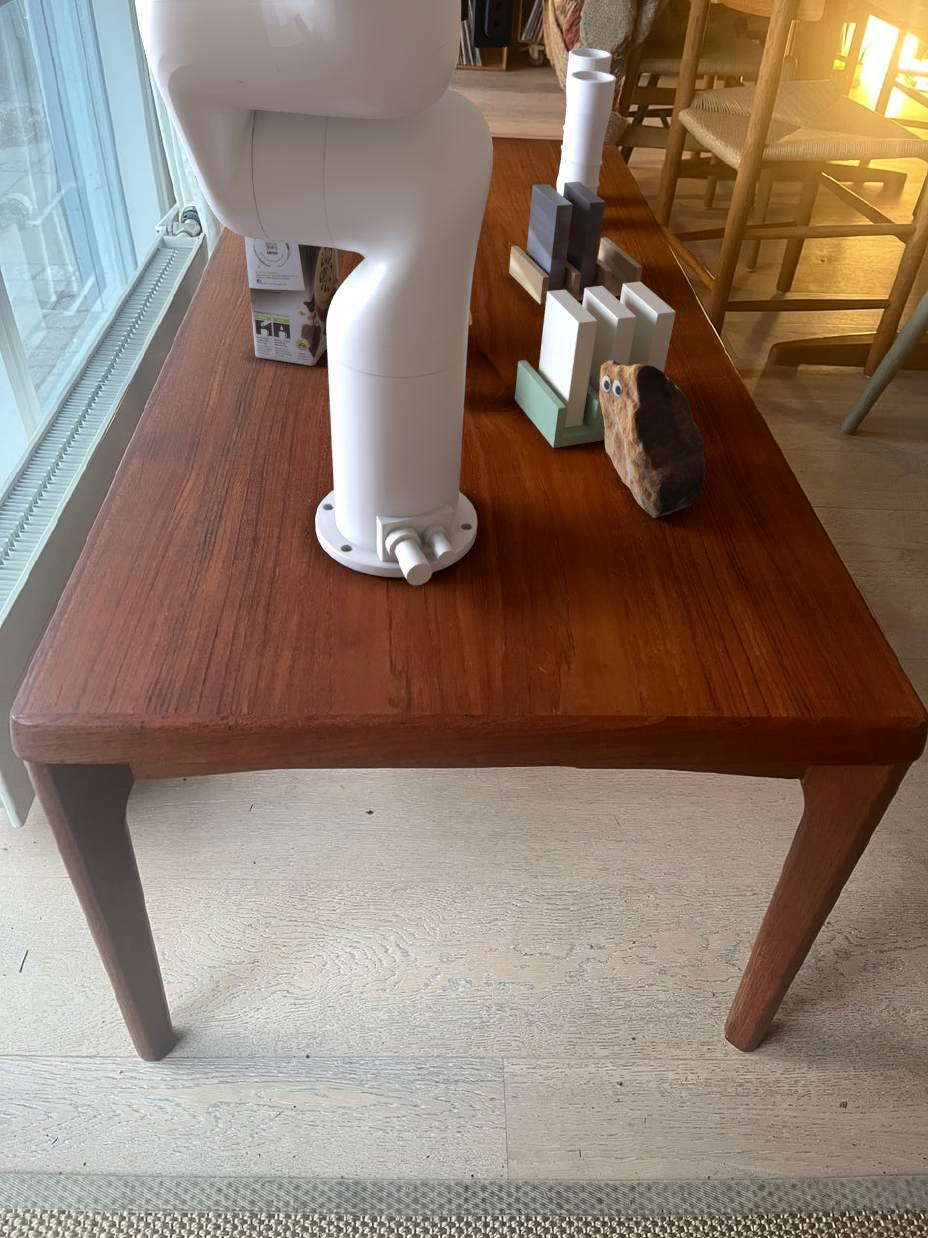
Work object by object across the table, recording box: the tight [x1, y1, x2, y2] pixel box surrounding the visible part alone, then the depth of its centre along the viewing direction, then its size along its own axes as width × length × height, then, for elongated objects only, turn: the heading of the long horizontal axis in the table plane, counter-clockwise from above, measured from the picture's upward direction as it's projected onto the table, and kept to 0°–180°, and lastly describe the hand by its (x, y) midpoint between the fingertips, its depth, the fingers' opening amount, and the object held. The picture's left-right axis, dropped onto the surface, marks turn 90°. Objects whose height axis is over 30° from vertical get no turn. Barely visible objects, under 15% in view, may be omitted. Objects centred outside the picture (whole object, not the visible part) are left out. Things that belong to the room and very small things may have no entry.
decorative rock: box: [599, 360, 706, 519], centre depth 80 cm, size 12×6×11 cm, turn 20°
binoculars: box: [556, 47, 617, 196], centre depth 125 cm, size 17×5×18 cm, turn 176°
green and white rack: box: [514, 281, 680, 449], centre depth 88 cm, size 12×9×11 cm
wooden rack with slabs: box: [508, 182, 643, 305], centre depth 109 cm, size 12×9×11 cm
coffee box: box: [243, 236, 340, 367], centre depth 94 cm, size 9×6×16 cm
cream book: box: [537, 290, 598, 428], centre depth 87 cm, size 2×6×10 cm, turn 20°
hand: (469, 32), depth 81 cm, fingers open, 9 cm apart
